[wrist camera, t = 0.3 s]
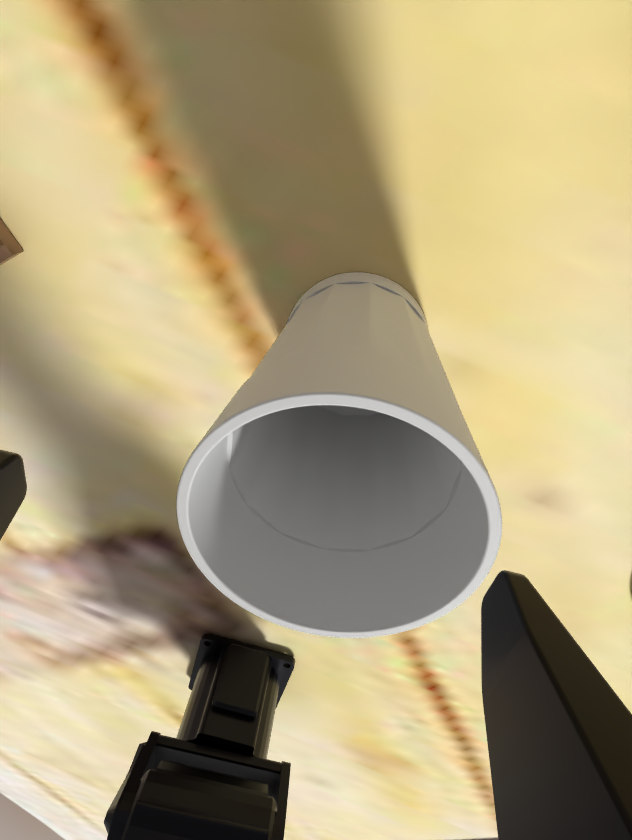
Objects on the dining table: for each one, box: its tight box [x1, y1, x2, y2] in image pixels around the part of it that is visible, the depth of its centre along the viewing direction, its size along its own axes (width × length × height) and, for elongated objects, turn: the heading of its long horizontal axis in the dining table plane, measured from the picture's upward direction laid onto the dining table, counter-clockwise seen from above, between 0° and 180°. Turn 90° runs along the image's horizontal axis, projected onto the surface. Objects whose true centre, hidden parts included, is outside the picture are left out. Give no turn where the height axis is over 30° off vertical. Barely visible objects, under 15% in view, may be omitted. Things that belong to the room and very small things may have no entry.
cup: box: [176, 272, 502, 638], centre depth 18 cm, size 8×8×12 cm
